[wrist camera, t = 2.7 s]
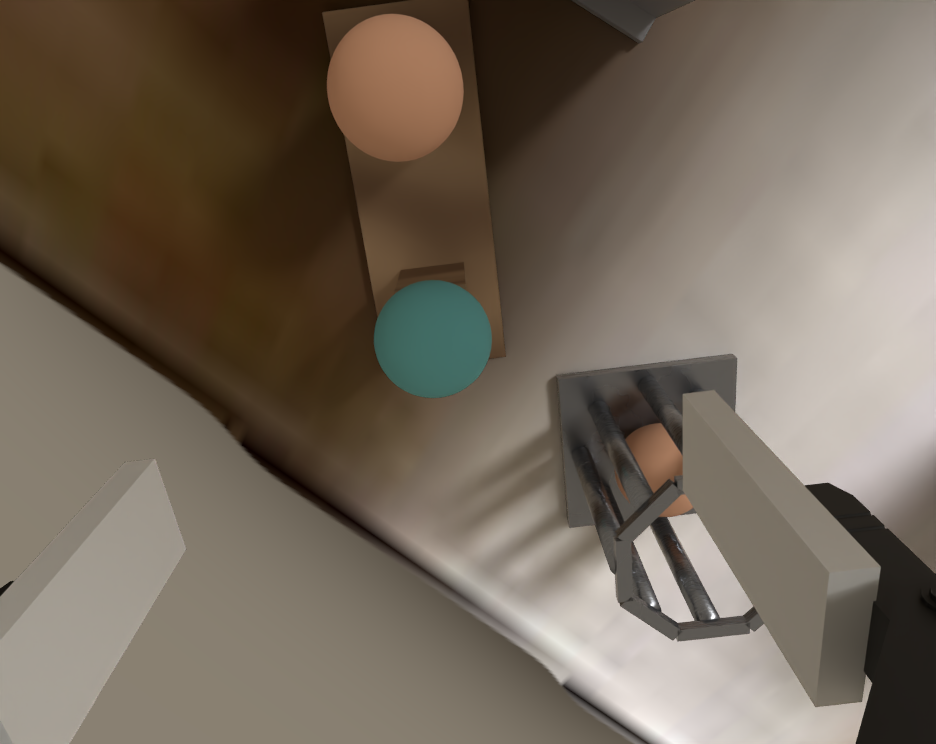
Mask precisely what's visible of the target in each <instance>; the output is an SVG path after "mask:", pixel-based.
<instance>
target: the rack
mask: <svg viewBox="0 0 936 744" xmlns="http://www.w3.org/2000/svg"><path fill="white" fill-rule="evenodd" d="M383 14H402V15H406V16H411V17H413V18H416V19H418V20H421V21H423V22H424V23H426V24H428V25H429V26H431V27H432V28H433V29H435V30H436V31H437V32H438V33H439V34H440V35H441V36H442V37H443V38H444V39H445V40H446V42H447V43H448V44H449V46H450V47H451V49H452V51H453V52H454V54H455V56H456V58H457V61H458V63H459V66H460V69H461V73H462V79H463V90H464V93H463V104H462V109H461V113H460V116H459V119H458V121H457V123H456V125H455V128H454V129H453V131H452V132H451V134H450V135H449V137H448V138H447V139H446V140H445V141H444V142H443V143H442V144H441V145H440V146H439V147H438V148H437V149H435V150H434V151H432V152H431V153H429V154H427V155H425V156H423V157H421V158H418V159H415V160H410V161H403V162H393V161H386V160H381V159H378V158H375V157H372V156H370V155H368V154H366V153H364V152H363V151H361V150H360V149H359V148H357V147H356V146H355V145H354V144H353V143H351V142H350V141H349V140H348V138H347V137H346V136H345V135H344V136H345V142H346V147H347V153H348V158H349V164H350V169H351V175H352V180H353V186H354V191H355V197H356V202H357V208H358V213H359V219H360V224H361V230H362V235H363V241H364V247H365V252H366V258H367V263H368V269H369V274H370V280H371V285H372V291H373V296H374V302H375V307H376V313H377V318H378V316H379V314H380V312H381V310H382V308H383V307H384V305H385V304H386V302H387V301H388V300H389V299H390V298H391V297H392V296H393V295H394V294H395V293H396V292H398V291H399V290H401V289H402V288H404V287H406V286H408V285H410V284H413V283H416V282H420V281H425V280H441V281H446V282H450V283H452V284H455V285H457V286H459V287H461V288H463V289H465V290H466V291H468V292H469V293H470V294H471V295H472V296H474V297H475V298H476V300H477V301H478V302H479V303H480V304H481V306H482V307H483V309H484V311H485V313H486V315H487V317H488V320H489V323H490V327H491V333H492V344H491V351H490V356H489V358H488V359H490V358H499V357H506V353H505V344H504V334H503V325H502V316H501V306H500V297H499V287H498V278H497V269H496V259H495V250H494V240H493V231H492V222H491V212H490V203H489V193H488V184H487V175H486V165H485V156H484V146H483V137H482V128H481V118H480V109H479V99H478V90H477V81H476V71H475V62H474V52H473V43H472V34H471V24H470V15H469V5H468V0H409V1H401V2H394V3H386V4H379V5H372V6H364V7H357V8H349V9H342V10H335V11H327V12H322V15H323V20H324V26H325V31H326V37H327V42H328V48H329V53H330V59H331V58H332V56H333V53H334V51H335V49H336V47H337V46H338V44H339V42H340V41H341V40H342V38H343V37H344V36H345V35H346V34H347V33H348V32H349V31H350V30H351V29H352V28H353V27H355V26H356V25H357V24H359V23H361V22H362V21H364V20H366V19H369V18H371V17H374V16H378V15H383Z"/></svg>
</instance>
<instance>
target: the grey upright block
mask: <svg viewBox="0 0 936 744" xmlns="http://www.w3.org/2000/svg"><path fill="white" fill-rule="evenodd" d="M571 1H573V2H575V3H576V4H578V5H579V6H581V7H583V8H584V9H586V10H587V11H589V12H590V13H592V14H594V15H595V16H597V17H598V18H600V19H601V20H603V21H605V22H606V23H608V24H609V25H611V26H612V27H614V28H616V29H617V30H619V31H620V32H622V33H624V34H625V35H627V36H628V37H630V38H631V39H633V40H635V41H636V42H638V43H640V42H643V40H644V38H645V36H646V35H647V33H648V31H649V29H650V28H651V26H652V24H653V22H654V21H655V19H656V18H657V17H659V16H661V15H664V14H666V13H668V12H670V11H673V10H675V9H677V8H679V7H682V6H684V5H686V4H688V3H690V2H693V1H695V0H571Z"/></svg>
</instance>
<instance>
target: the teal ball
mask: <svg viewBox="0 0 936 744" xmlns="http://www.w3.org/2000/svg"><path fill="white" fill-rule="evenodd" d="M491 344H492V333H491V327H490V323H489V320H488V317H487V315H486V313H485V311H484V309H483V307H482V306H481V304H480V303H479V302H478V301H477V300H476V298H475V297H474V296H472V295H471V294H470V293H469V292H468V291H466V290H465V289H463V288H461V287H459V286H457V285H455V284H452V283H450V282H446V281H441V280H425V281H420V282H416V283H413V284H410V285H408V286H406V287H404V288H402V289H401V290H399V291H398V292H396V293H395V294H394V295H393V296H392V297H391V298H390V299H389V300H388V301H387V302H386V304H385V305H384V307H383V308H382V310H381V312H380V314H379V316H378V318H377V322H376V325H375V331H374V347H375V352H376V356H377V359H378V362H379V364H380V366H381V368H382V369H383V371H384V373H385V374H386V375H387V376H388V378H389V379H390V380H391V381H392V382H393V383H394V384H396V385H397V386H398V387H399V388H401V389H403V390H404V391H406V392H408V393H411V394H413V395H416V396H420V397H426V398H441V397H446V396H450V395H453V394H455V393H458V392H460V391H462V390H463V389H465V388H466V387H468V386H469V385H470V384H471V383H473V382H474V381H475V380H476V379H477V378H478V377H479V375H480V374H481V372H482V371H483V369H484V367H485V366H486V364H487V361H488V358H489V356H490V351H491Z"/></svg>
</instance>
